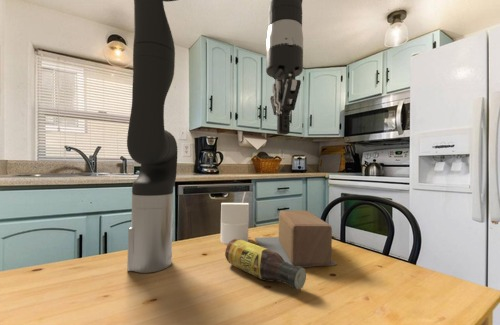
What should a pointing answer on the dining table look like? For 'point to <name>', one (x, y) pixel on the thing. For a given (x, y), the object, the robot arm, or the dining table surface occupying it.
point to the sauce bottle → (264, 263)
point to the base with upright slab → (234, 221)
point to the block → (305, 238)
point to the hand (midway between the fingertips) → (283, 134)
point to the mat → (280, 249)
